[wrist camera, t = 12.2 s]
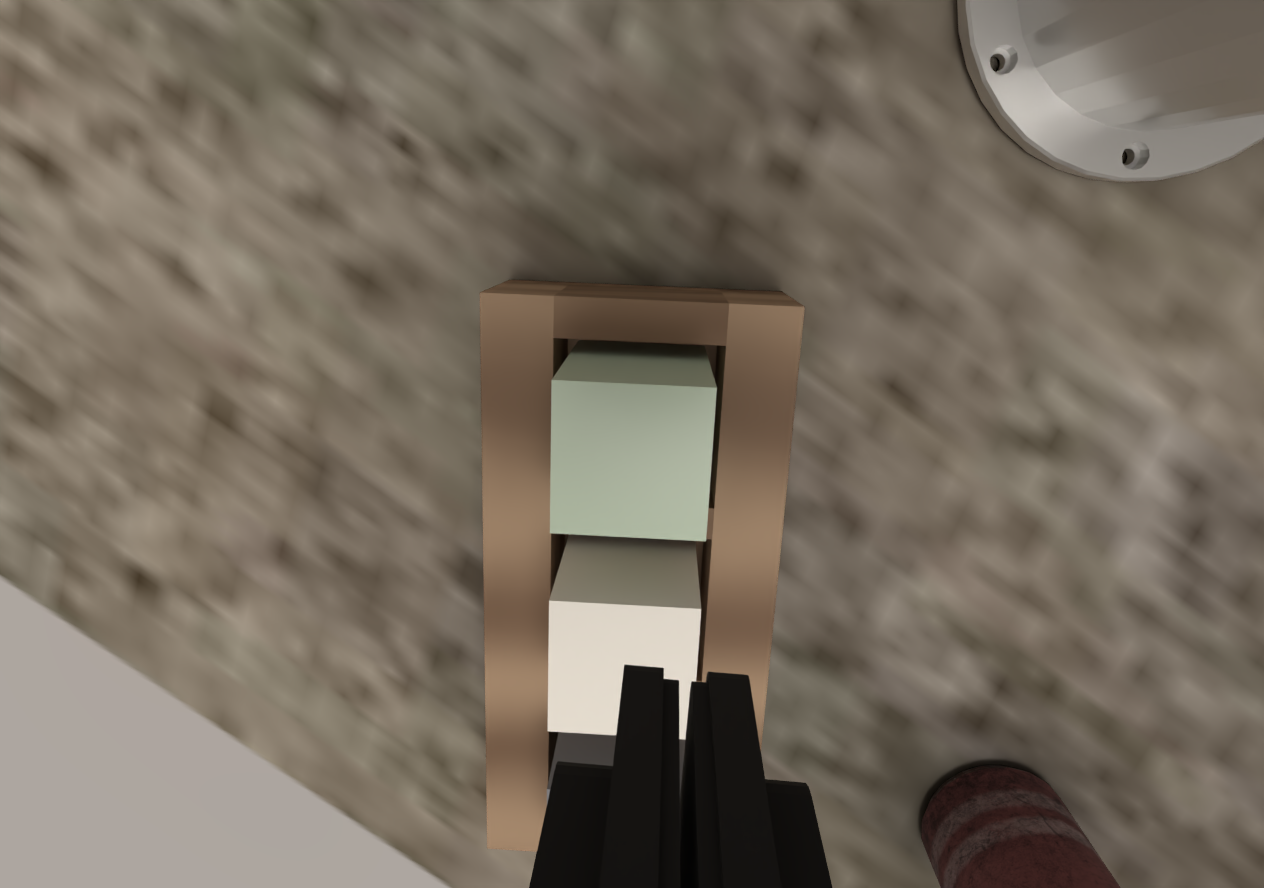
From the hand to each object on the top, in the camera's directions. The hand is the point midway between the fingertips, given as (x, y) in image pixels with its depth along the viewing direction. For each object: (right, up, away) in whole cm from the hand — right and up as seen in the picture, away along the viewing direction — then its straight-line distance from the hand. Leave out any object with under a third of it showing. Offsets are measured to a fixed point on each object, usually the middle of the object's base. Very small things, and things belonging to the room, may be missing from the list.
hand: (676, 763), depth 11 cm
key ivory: (-1, -1, +20) cm, 20 cm away
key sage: (0, +6, +18) cm, 19 cm away
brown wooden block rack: (-1, 0, +22) cm, 22 cm away
